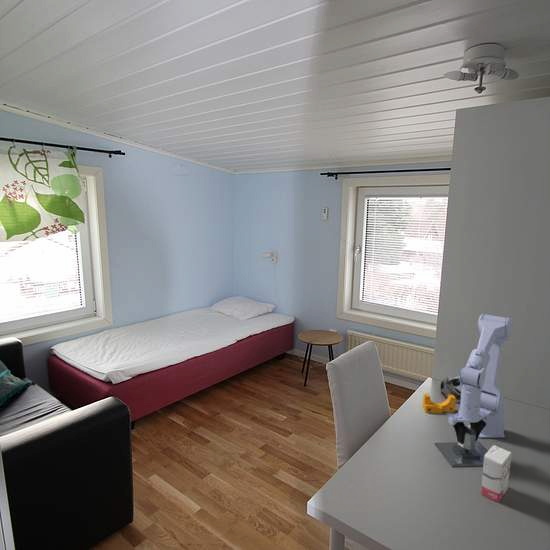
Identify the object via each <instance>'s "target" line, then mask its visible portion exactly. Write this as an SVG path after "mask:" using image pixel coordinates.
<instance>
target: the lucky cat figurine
mask: <svg viewBox="0 0 550 550" xmlns="http://www.w3.org/2000/svg"><path fill="white" fill-rule="evenodd" d="M459 376H460V375H454V376H453V377H452V375H448V376H447V378H445V379H443V380H442V381H441V382H440V386H439V387H440V394H441V395H443V397H444V398H445V400H447V398H448V395H454V396H455V398H456V401H455V404H458V403H460V402H461V388H460V380H459Z"/></svg>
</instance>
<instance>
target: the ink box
mask: <svg viewBox="0 0 550 550" xmlns="http://www.w3.org/2000/svg"><path fill="white" fill-rule="evenodd" d="M511 461H512V451H510V450H506V449H504V448H502V447H499V446H497V445H495V444H493V445H492V446H491V447H490V448H489V449H488V452H487V453H486V454H485V456H484V464H483V466H482V467H483V468H482V478H481V492H480V494H481V495H482V496H485V498H488V499H490V500H493V501H494V502H497V503H500V501H501V500H502V499H503V496H504V495H505V493H506V492H507V491H508V489H509V480H510V472H511V471H510V470H511Z"/></svg>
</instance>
